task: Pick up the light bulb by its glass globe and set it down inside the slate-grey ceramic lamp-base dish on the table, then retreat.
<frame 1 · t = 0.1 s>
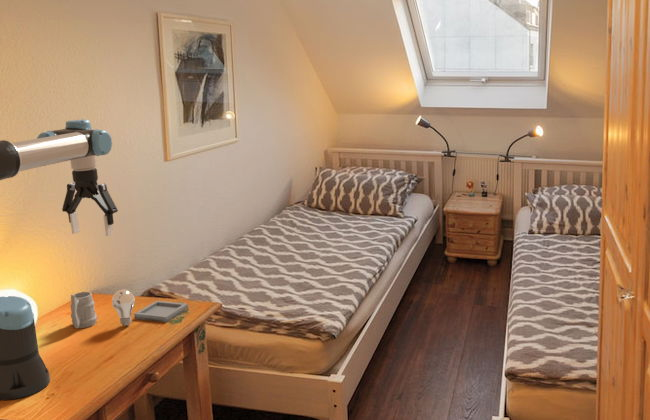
hand: (92, 233, 225), 28 cm above the table, fingers open, 13 cm apart
dish: (161, 313, 230), on the table
light bulb: (126, 326, 221), on the table
mug: (82, 326, 222), on the table
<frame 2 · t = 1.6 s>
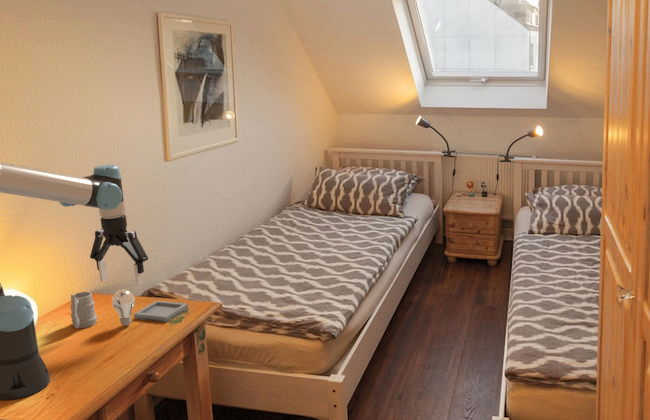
hand: (122, 281, 218), 15 cm above the table, fingers open, 13 cm apart
nothing on the table moved.
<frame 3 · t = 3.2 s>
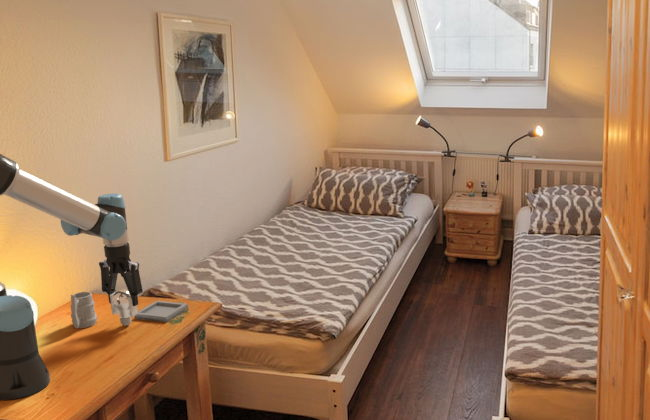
hand: (125, 314, 220), 4 cm above the table, fingers closed on light bulb, 6 cm apart
light bulb: (126, 326, 221), on the table, touching gripper
everything else where it was.
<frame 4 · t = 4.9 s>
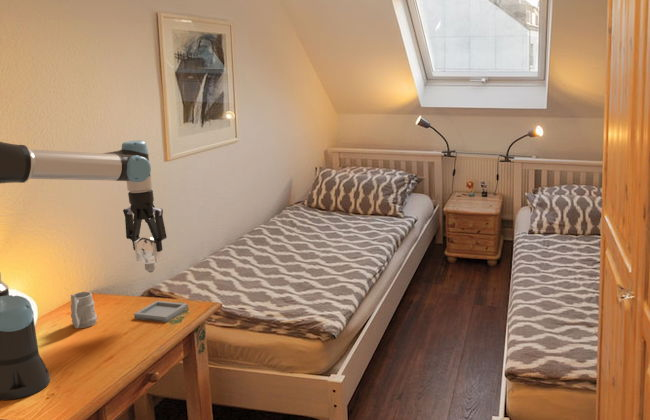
hand: (149, 260, 224), 19 cm above the table, fingers closed on light bulb, 6 cm apart
light bulb: (150, 272, 225), point 15 cm above the table, touching gripper
everything else where it was.
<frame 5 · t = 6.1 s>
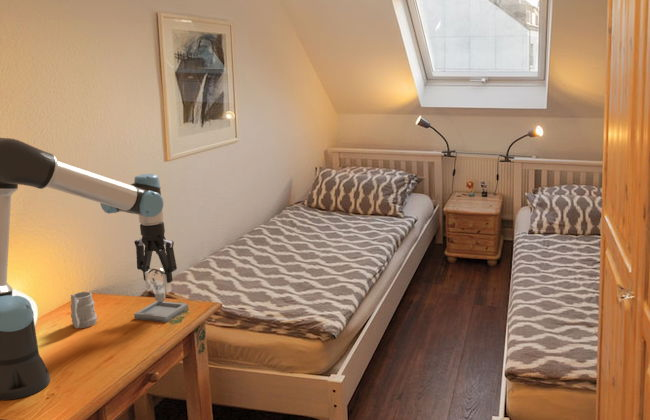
hand: (159, 290, 228), 8 cm above the table, fingers closed on light bulb, 6 cm apart
light bulb: (160, 302, 229), point 4 cm above the table, touching gripper
everything else where it was.
when the fingers open (5 cm above the table, at t = 6.9 s): light bulb stays where it is, resting on dish.
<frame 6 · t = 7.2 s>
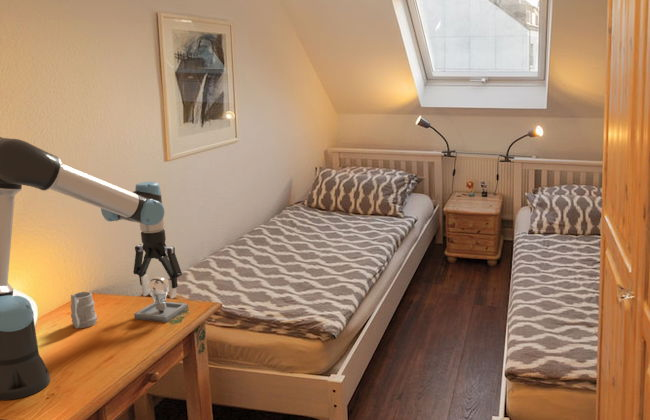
hand: (159, 295, 228), 6 cm above the table, fingers open, 10 cm apart
light bulb: (161, 312, 229), point 1 cm above the table, touching dish
everything else where it was.
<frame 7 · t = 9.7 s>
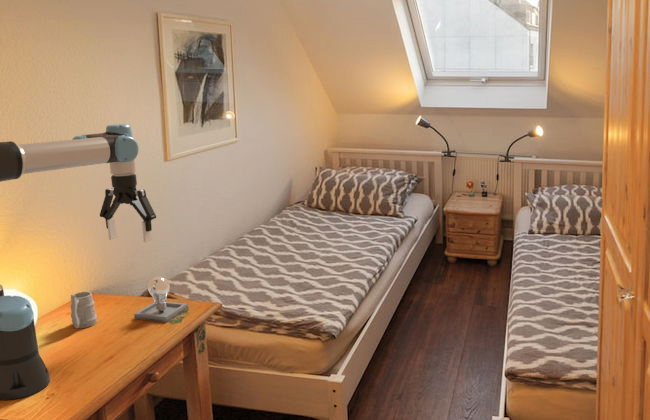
hand: (130, 240, 222), 26 cm above the table, fingers open, 13 cm apart
nothing on the table moved.
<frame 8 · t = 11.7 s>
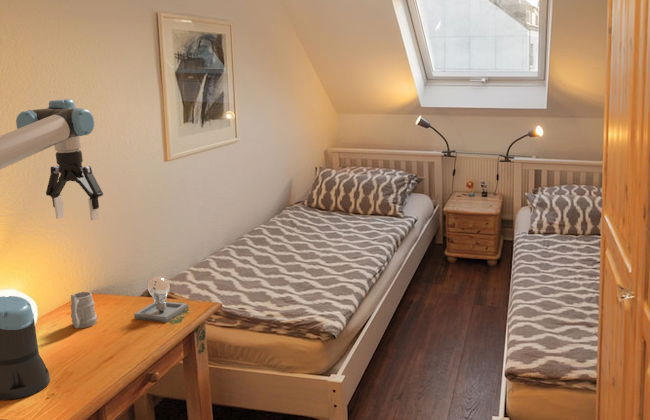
hand: (77, 218, 217), 35 cm above the table, fingers open, 13 cm apart
nothing on the table moved.
at the end: light bulb inside the target area on the dish (0.0 cm from its centre), point 0.6 cm above the dish's base; light bulb touching dish; the gripper is holding nothing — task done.
